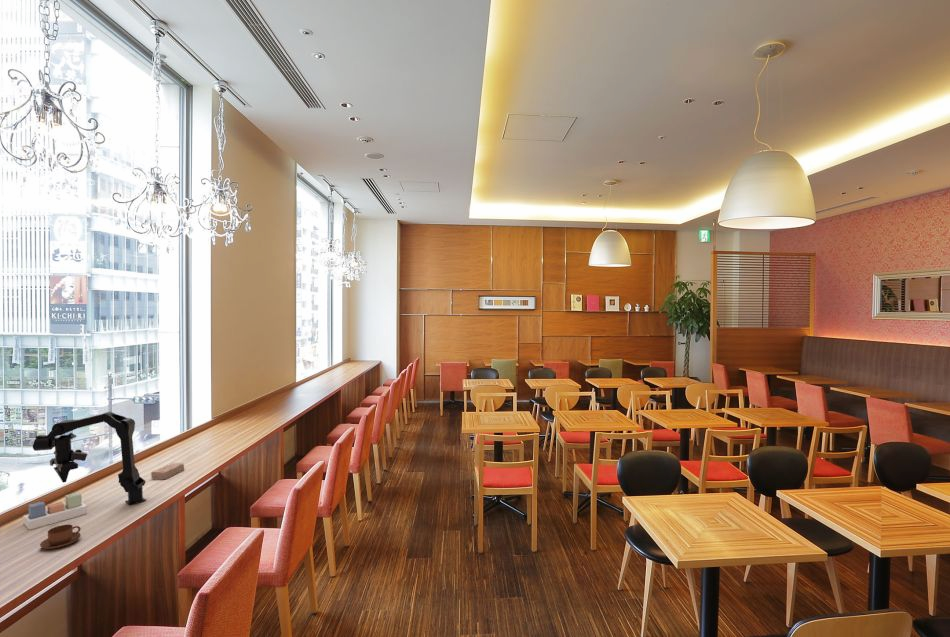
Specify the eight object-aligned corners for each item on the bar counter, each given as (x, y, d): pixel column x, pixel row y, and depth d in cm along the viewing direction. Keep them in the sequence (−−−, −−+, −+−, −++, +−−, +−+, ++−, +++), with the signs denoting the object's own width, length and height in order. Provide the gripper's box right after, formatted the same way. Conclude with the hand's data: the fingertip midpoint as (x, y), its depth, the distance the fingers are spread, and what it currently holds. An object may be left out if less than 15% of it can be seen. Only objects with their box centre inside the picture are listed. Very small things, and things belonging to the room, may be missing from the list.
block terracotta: (64, 517, 211) (63, 504, 211) (50, 521, 208) (50, 507, 208) (61, 514, 214) (60, 501, 214) (47, 518, 210) (47, 505, 210)
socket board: (87, 513, 216) (86, 505, 216) (29, 529, 200) (29, 521, 200) (80, 508, 222) (80, 500, 222) (23, 523, 206) (23, 515, 206)
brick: (170, 470, 275) (170, 462, 275) (185, 469, 274) (184, 461, 274) (150, 480, 258) (150, 472, 258) (165, 480, 258) (165, 471, 258)
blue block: (45, 517, 206) (45, 503, 206) (31, 521, 203) (30, 507, 203) (42, 514, 209) (42, 501, 209) (28, 518, 205) (28, 504, 205)
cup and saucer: (66, 535, 195) (66, 520, 195) (88, 538, 191) (87, 523, 191) (32, 549, 183) (31, 533, 183) (54, 553, 180) (53, 537, 180)
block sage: (81, 507, 216) (81, 494, 216) (68, 511, 213) (68, 497, 212) (78, 505, 219) (78, 492, 219) (65, 508, 215) (65, 495, 215)
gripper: (91, 447, 222) (92, 480, 222) (78, 441, 233) (80, 473, 233) (60, 453, 213) (61, 488, 213) (48, 447, 224) (50, 480, 224)
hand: (64, 482), depth 221 cm, fingers closed
